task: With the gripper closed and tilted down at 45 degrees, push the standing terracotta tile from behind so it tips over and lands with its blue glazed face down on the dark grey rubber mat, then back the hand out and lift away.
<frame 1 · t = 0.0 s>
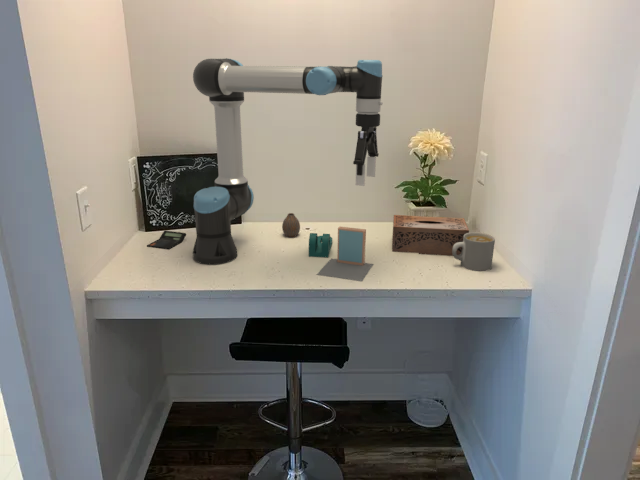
hand: (365, 180, 162), 28 cm above the table, tool pointing down, fingers open, 13 cm apart
coffee mug: (470, 265, 169), on the table
tile: (350, 262, 169), resting on mat
calculator: (167, 244, 188), on the table
tissue box cover: (427, 248, 185), on the table
bracket: (321, 250, 183), on the table
vase: (291, 236, 197), on the table
mat: (345, 270, 164), on the table
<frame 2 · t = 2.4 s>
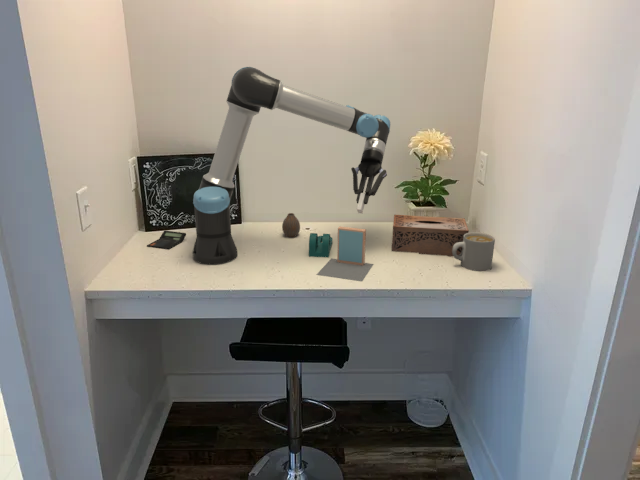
hand: (359, 211, 172), 16 cm above the table, tool tilted 45°, fingers closed
nothing on the table moved.
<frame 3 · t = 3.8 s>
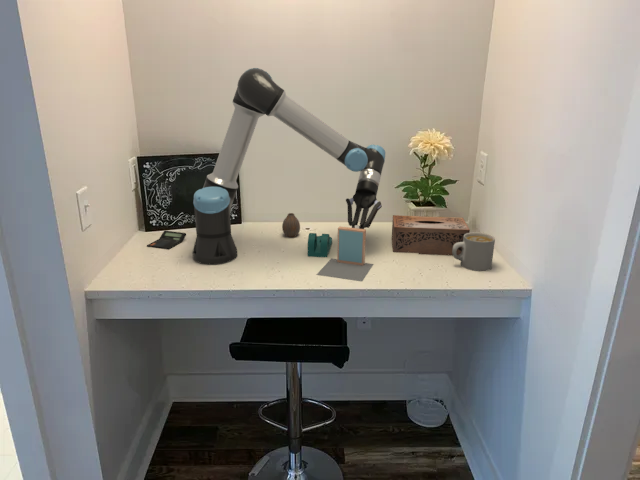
hand: (353, 243, 170), 6 cm above the table, tool tilted 45°, fingers closed
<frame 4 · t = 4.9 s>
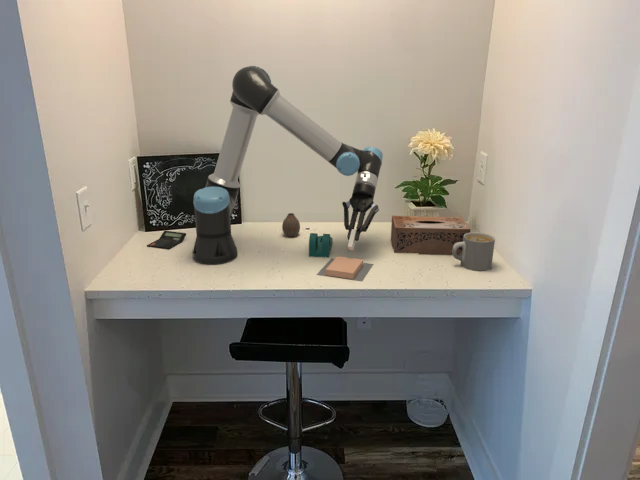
hand: (350, 248, 166), 6 cm above the table, tool tilted 45°, fingers closed
tile: (350, 260, 168), point 2 cm above the table, tilted 90°, touching mat
everything else where it was.
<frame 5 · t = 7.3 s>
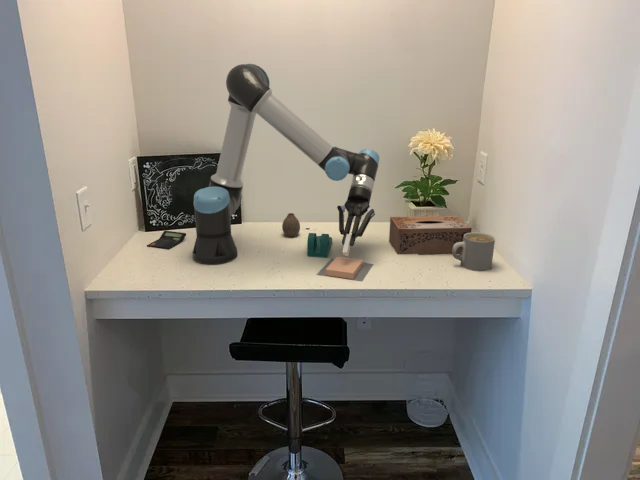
hand: (345, 253, 161), 6 cm above the table, tool tilted 45°, fingers closed
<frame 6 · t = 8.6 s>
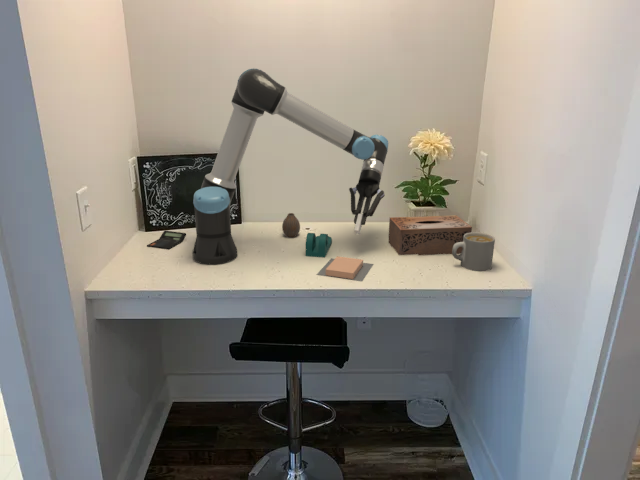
hand: (357, 232, 172), 9 cm above the table, tool tilted 45°, fingers closed
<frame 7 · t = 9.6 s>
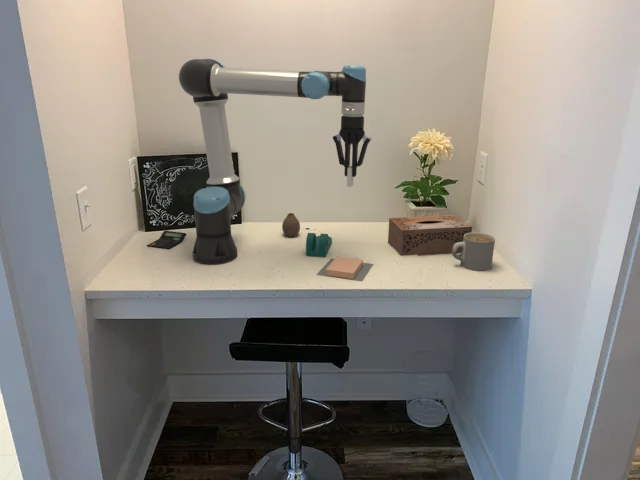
hand: (350, 185, 173), 24 cm above the table, tool pointing down, fingers closed
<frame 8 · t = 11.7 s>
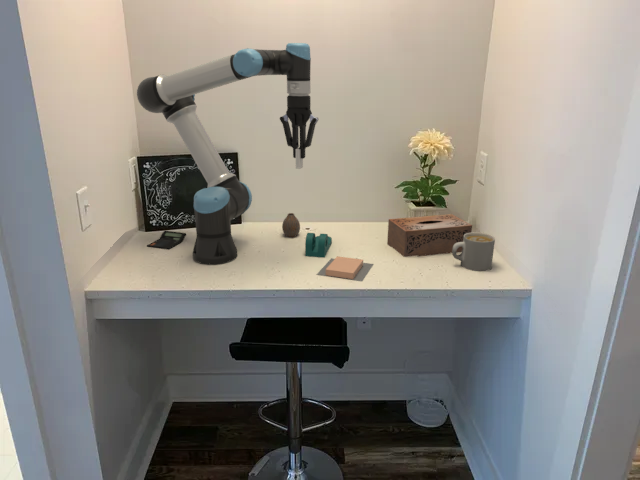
hand: (299, 167, 169), 30 cm above the table, tool pointing down, fingers closed
at the end: tile tilted 90°; tile inside the target area on the mat (5.3 cm from its centre), point 1.5 cm above the mat's base; tile point 1.5 cm above the table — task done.
